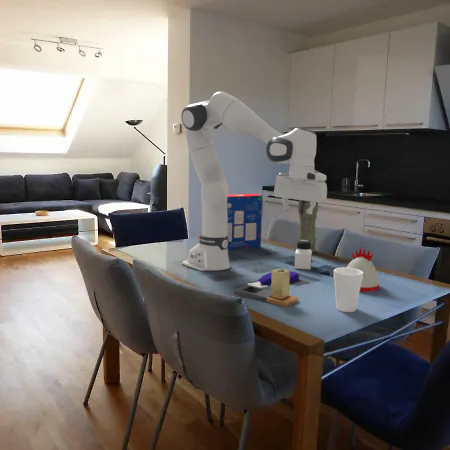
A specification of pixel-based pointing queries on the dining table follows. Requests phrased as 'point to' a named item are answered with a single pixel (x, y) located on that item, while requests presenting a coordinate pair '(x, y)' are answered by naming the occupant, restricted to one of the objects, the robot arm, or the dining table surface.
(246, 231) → the pasta box
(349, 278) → the foam cup
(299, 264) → the medicine bottle
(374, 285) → the kitchen timer
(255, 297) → the peg insertion board
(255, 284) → the purple flat blob
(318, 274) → the dining table surface
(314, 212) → the olive green tall piece
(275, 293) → the tan square peg
